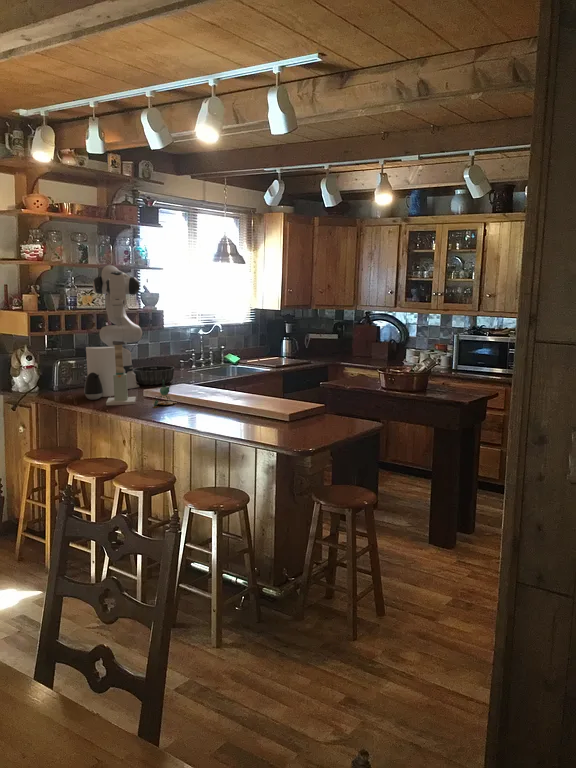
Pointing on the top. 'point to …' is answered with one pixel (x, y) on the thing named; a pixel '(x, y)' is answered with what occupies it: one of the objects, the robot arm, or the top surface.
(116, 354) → the column
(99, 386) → the dark grey egg shape
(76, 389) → the top surface
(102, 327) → the robot arm
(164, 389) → the frog figurine
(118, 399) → the stand base
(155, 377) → the bundt pan
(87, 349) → the white tall block
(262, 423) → the top surface
